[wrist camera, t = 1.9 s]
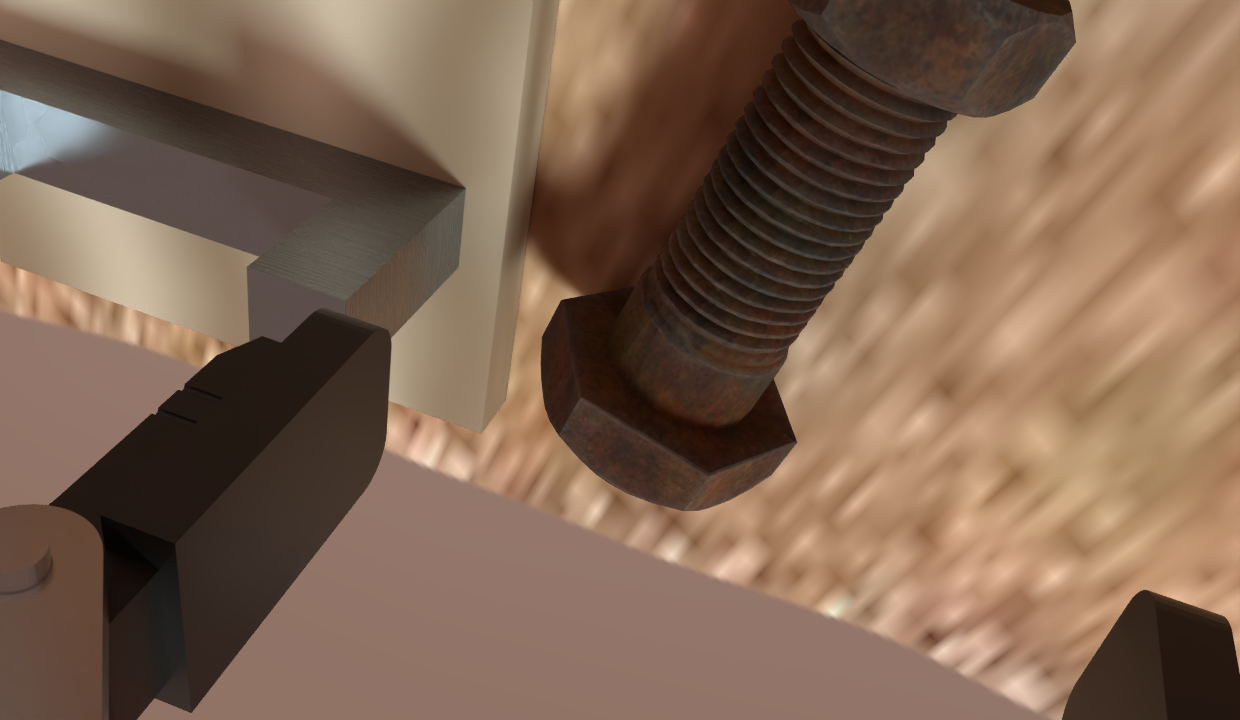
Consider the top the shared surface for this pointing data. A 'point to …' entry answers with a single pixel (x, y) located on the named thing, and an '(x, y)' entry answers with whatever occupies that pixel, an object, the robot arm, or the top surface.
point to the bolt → (778, 238)
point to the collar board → (330, 113)
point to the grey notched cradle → (237, 191)
